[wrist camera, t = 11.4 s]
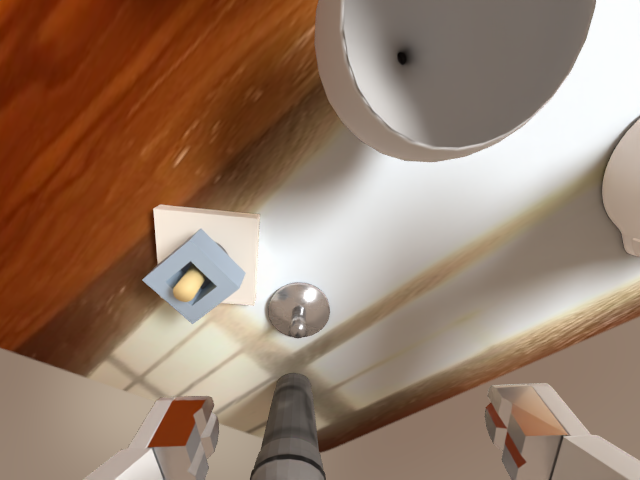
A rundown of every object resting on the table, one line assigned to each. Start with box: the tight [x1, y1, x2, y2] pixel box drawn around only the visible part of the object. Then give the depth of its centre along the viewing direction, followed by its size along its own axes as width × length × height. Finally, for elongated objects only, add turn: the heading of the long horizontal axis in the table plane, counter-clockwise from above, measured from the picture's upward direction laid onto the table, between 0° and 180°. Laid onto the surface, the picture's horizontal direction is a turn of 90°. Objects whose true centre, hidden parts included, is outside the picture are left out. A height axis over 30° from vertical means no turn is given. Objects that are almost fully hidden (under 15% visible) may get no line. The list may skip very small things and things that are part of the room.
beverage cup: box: [250, 373, 326, 480], centre depth 33 cm, size 7×7×20 cm
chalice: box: [315, 0, 596, 162], centre depth 22 cm, size 14×14×15 cm
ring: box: [142, 229, 246, 324], centre depth 30 cm, size 6×6×3 cm
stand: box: [268, 282, 330, 338], centre depth 36 cm, size 7×7×4 cm
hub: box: [153, 205, 260, 306], centre depth 31 cm, size 10×10×8 cm
